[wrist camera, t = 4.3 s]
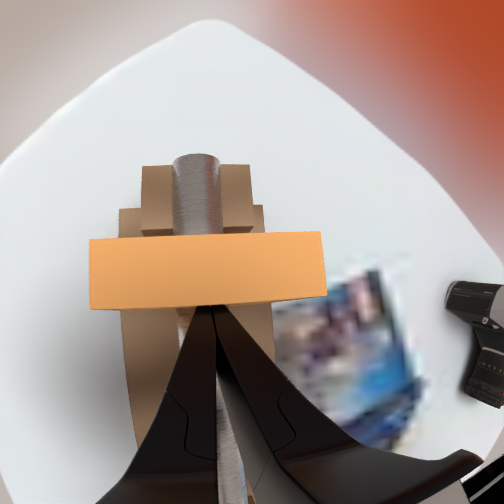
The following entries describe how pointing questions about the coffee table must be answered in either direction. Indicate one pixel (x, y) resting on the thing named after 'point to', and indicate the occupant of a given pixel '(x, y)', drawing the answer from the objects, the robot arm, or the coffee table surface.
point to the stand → (165, 321)
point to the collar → (204, 270)
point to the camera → (483, 335)
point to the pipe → (202, 223)
